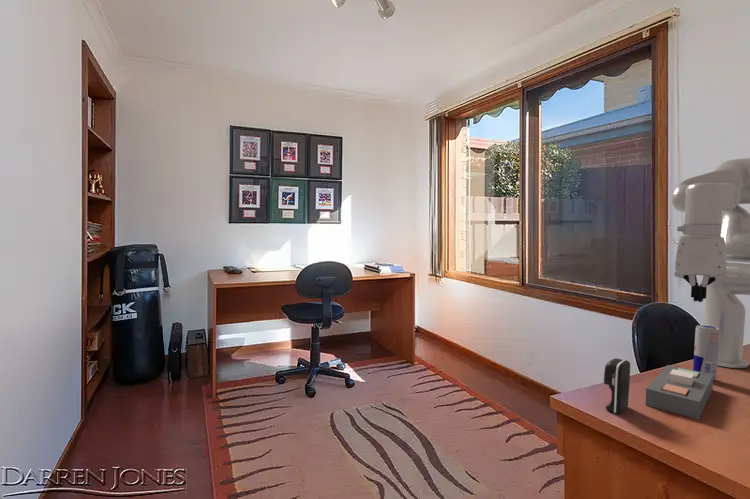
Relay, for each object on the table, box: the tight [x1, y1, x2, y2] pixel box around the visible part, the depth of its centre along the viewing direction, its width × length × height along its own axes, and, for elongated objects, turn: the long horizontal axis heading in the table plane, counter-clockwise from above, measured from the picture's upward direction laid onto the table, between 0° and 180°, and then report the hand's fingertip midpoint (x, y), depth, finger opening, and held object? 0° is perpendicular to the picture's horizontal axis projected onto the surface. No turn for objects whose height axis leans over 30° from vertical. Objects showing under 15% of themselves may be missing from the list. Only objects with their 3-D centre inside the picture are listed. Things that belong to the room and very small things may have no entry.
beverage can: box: [692, 324, 719, 381], centre depth 114 cm, size 5×5×15 cm
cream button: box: [669, 369, 694, 387], centre depth 102 cm, size 4×4×3 cm
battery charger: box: [603, 358, 631, 415], centre depth 95 cm, size 7×4×11 cm, turn 132°
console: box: [645, 364, 714, 421], centre depth 102 cm, size 24×10×4 cm, turn 135°
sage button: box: [677, 367, 699, 378], centre depth 108 cm, size 4×4×3 cm
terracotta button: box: [662, 384, 689, 396], centre depth 96 cm, size 4×4×3 cm
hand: (698, 300), depth 107 cm, fingers closed
